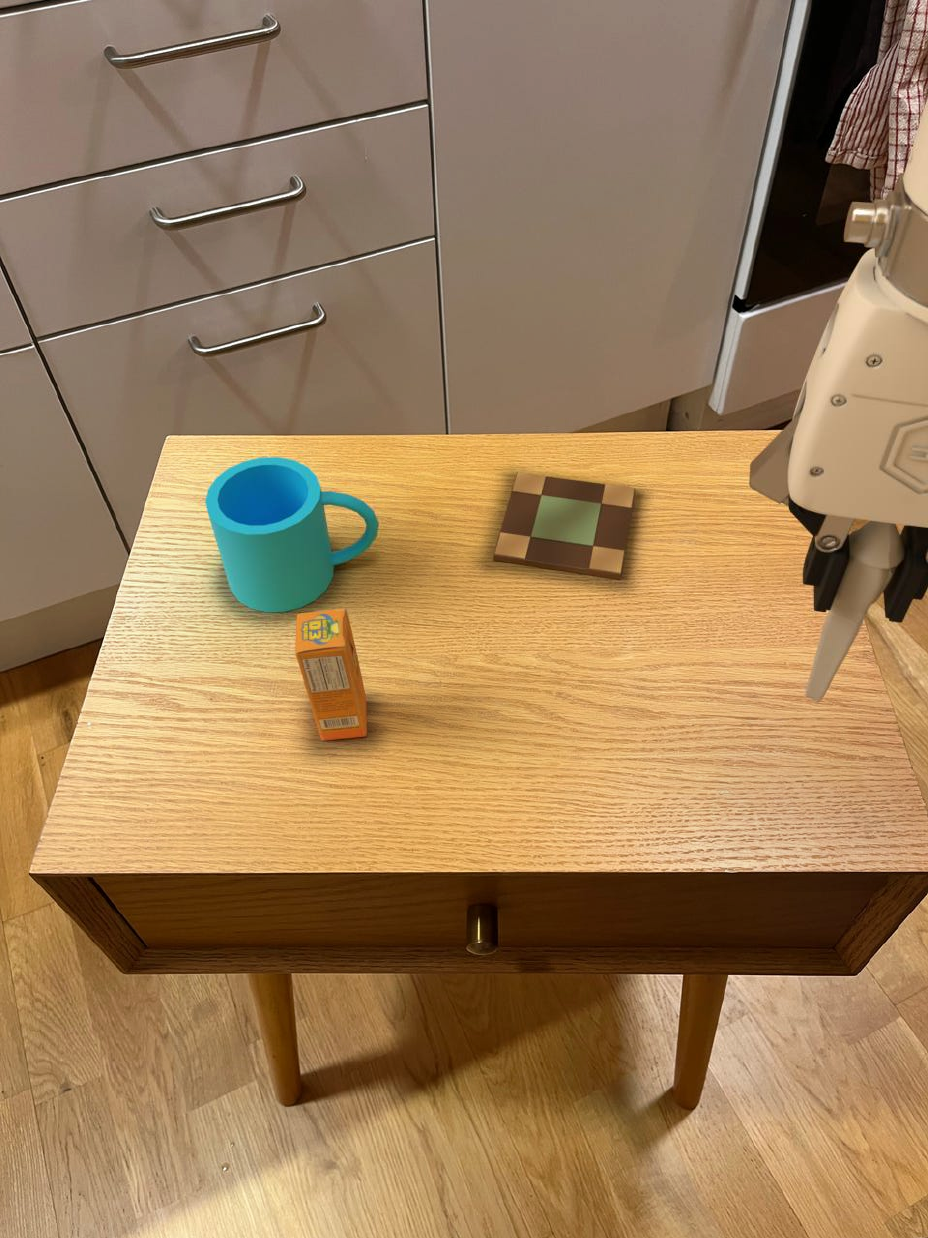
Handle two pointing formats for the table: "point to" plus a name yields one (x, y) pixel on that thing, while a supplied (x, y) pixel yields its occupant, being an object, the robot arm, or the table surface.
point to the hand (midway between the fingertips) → (856, 593)
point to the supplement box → (331, 673)
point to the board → (566, 525)
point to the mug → (279, 532)
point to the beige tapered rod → (855, 598)
